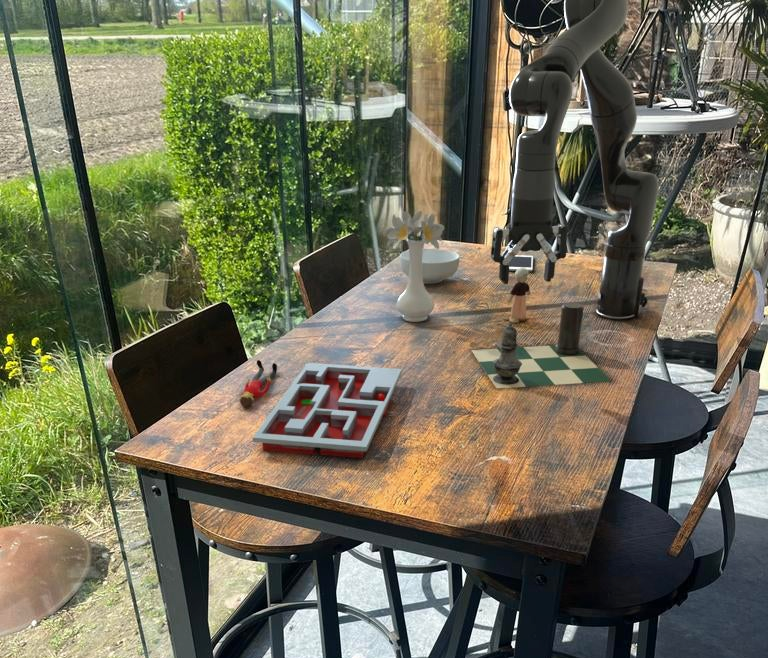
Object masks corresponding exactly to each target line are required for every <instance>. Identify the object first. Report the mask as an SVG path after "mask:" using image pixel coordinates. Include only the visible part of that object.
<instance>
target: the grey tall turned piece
mask: <svg viewBox="0 0 768 658" xmlns="http://www.w3.org/2000/svg"><path fill="white" fill-rule="evenodd" d="M517 336H518V330H517V328H515V327H514V326H513V323H512V322H509V323H508V325H507V326H506V327H504V328H503V329H502V335H501V337H502V338H501V342H500V343H499V347H500V348H501V354H500V357H499V359H496V360H494V361H493V365H494V369H495V371H496V373H497V374H498V375H496V376H494V377H493V380H494V381H495V382H496V383H499V384H504V385H511V384H515V383H517V382H519V378H518V377H517V376H515V375H516V374H517V373H518V372H519V370H520V367H521V366H522V363H521V361H519V360H517V359H516V355H515V354H516V347H519V345H518V343H517Z"/></svg>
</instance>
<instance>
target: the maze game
mask: <svg viewBox="0 0 768 658" xmlns="http://www.w3.org/2000/svg"><path fill="white" fill-rule="evenodd" d="M402 373H403V369H402V368H395V367H394V368H393V367H378V366H364V365H362V366H361V365H349V364H333V363H319V362H307V363H306V364H305V366H304V367H303V368H302V370H301V371H300V373H298V374H297V377H296V378H295V379H294V380H293V382H292V384H291V385H290V386H289V388H288V389H287V390H286V391H285V393H284V394H283V396H282V397H281V398H280V399H279V401H278V403H276V405H275V407H274V408H273V409H272V410H271V411H270V413H269V415H268V416H267V417H266V418H265V419H264V421H263V422H262V424H261V425H260V427H259V428H258V430H257V431H256V432H255V433H254V435H253V436H252V443H261V444H262V450H263V451H268V452H269V451H270V452H281V453H282V452H283V453H294V454H295V453H296V454H307V455H308V454H309V455H315V453H316V452H317V450H318V448H320V455H321V456H332V457H343V458H345V457H346V458H359V459H362V458H363V457H364V454H365V452H367V451H368V449H369V447H370V445H371V443H372V441H373V438H374V436H375V434H376V431H377V429H378V427H379V425H380V423H381V420H382V418H385V417H386V414H387V413H388V411H389V408H390V405H391V403H392V395H393V394H394V391H395V389H396V387H397V384H398V382H399V381H400V378H401V377H402Z"/></svg>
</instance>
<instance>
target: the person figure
mask: <svg viewBox="0 0 768 658" xmlns="http://www.w3.org/2000/svg"><path fill="white" fill-rule="evenodd" d="M256 365H257V367H258V368H259V369H258V371H257V373H256V374H255V375H254V377H252V379H251V380H250V378H248V379H247V380H246V383H245V386H244V390H243V392H242V394H241V396H240V398H239V404H240V405H241V407H242V408H243V409H247V408H250V407H252V406H253V404H254V401H255V399H260V398H262V397H263V396H264V395H265V394H266V393H267V392H268V391H269V389H270V386H271V383H272V379H273V378H274V377H275V376H276V374H277V371H278V365H277V363H275V362H273V363H272V364H271V368H272V371H271V373H269V375H267V376H265V377H263V378H261V377H262V375H263V373H264V371H265V368H264V366H263V362H262V361H261V360H260V359H257V360H256ZM264 386H265V387H264Z"/></svg>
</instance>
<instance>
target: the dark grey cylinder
mask: <svg viewBox="0 0 768 658" xmlns="http://www.w3.org/2000/svg"><path fill="white" fill-rule="evenodd" d="M584 309H585V307H584V305H583V304H581V303H579V302H573V301H571V302H570V301H569V302H565V303H564V304H562V305H561V311H560V320H559V329H558V338H557V343H556V344H555V345H556V348H555V351H556V352H557V353H559V354H563V355H576V354H578V353H580V350H581V347H582V346H581V345H580V342H581V341H580V339H581V332H582V324H583V317H584Z"/></svg>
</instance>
